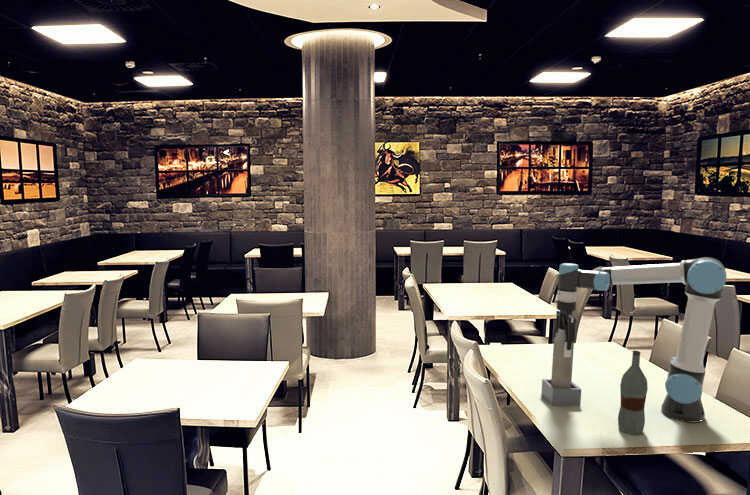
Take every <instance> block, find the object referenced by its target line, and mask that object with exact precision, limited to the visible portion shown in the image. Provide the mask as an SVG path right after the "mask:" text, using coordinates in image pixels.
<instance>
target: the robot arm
mask: <svg viewBox="0 0 750 495" xmlns="http://www.w3.org/2000/svg"><path fill="white" fill-rule="evenodd" d="M557 274H558V279H557V280H558V282H557V284H558V285H557V293H556V295H557V298H556V299H557V300H556V310H557V311H556V312H555V313H556V316H555V317H556V318H555V324H554V331H553V332H554V333H555V334H556V333H558V330H559V326H562V325H563V326H565V336H566V340H565V341H564V342H565V346H564V357H571V349H572V342H574V343H575V341H576V339H575V338H576V331H575V330H576V328H575V327H576V325H575V324H576V317H573V313H572V312H575V311H576V308H577V302H576V301H577V298H578V289H587V290H594V291H608V290H609V288H610V286H613V285H616V286H617V285H642V284H665V283H666V284H667V283H669V284H670V283H683V285H685V290H684V293H685V295H686V296H687V303H686V306H685V313H684V317H683V323H682V327H681V333H680V338H679V343H678V346H677V352H676V356H672V357H671V358H670V362H669V366H668V367H669V368H668V373H667V378H666V380H665V383H664V386H665V390H666V393H667V394H666V396H665V398H664V400H663V402H662V404H661V408H660V409H661V410H660V411H661V413H662V414H663V415H664V416H665V417H668V418H670V417H671V419H673V418H674V419H673V420H676V419H678V420H677V421H680V420H684V421H683V422H685V421H700V420H703V419H704V420H705V416H706V414H705V409H704V406H703V401H702V395H703V385H704V382H705V376H706V371H707V370H706V368H705V365H704V358H705V353H706V352H705V351H706V347H707V343H708V338H709V332H710V329H711V324H712V320H713V314H714V310H715V305H716V303H717V302H719V301H721V299H722V297H723V291H724V287H725V285H726V281H727V277H728V276H727V272H726V268H725V266H724V264H723V262H721V261H720V260H719V259H717V258H715V257H712V256H711V257H709V256H708V257H707V256H704V257H698V258H693V259H686V260H685V259H683V260H681V261H680V262H672V263H658V264H657V263H655V264H641V265H640V264H639V265H624V266H607V267H606V266H605V267H604V266H597V267H594V268H593V269H592V270H587V269H585V270H584V269H580V268H579V264H576V263H572V262H571V263H567V262H564V263H561V264H559V269H558V273H557Z"/></svg>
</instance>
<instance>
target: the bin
mask: <svg viewBox="0 0 750 495" xmlns="http://www.w3.org/2000/svg"><path fill="white" fill-rule="evenodd" d="M551 379H552V378H551ZM551 379H548V378H543V379H541V380H542V381H541V382H542V383H541V396H542V397H543V398H544V399H545V401H547V402H548V404H549V405H551V406H552V407H553V406H555V407H557V406H558V407H566V406H567V407H581V400H582V399H581V398H582V388H580V386H578V385H577V384H576V383H575V382H574V381H572V380H571V388H554V387H553V386H552V385H551Z"/></svg>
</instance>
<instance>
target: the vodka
mask: <svg viewBox="0 0 750 495" xmlns="http://www.w3.org/2000/svg"><path fill="white" fill-rule="evenodd" d="M640 360H641V351H639V350H632V358H631V365H630V366H629V367H628V369H626V371H624V373H623V374H622V377H621V381H620V406H619V411H618V415H617V425H618V429H619V430H620V432H623V433H625V434H627V433H628V434H627V435H632V434H633V436H637V435H639V436H640V435H642V434H643V432H644V428H645V424H646V418H645V416H646V415H645V407H646V406H645V405H646V399H647V394H648V388H649V386H648V379H647V377H646V375H645V373H644V372H643V370H642V369H641V367H640Z"/></svg>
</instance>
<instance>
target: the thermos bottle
mask: <svg viewBox="0 0 750 495" xmlns="http://www.w3.org/2000/svg"><path fill="white" fill-rule="evenodd" d="M565 340H566V336H565V326H563V325H562V326H559V330H558V333H555V337H554V338H553V350H552V364H551V385H552V386H553V387H554V388H571V381H572V380H573V379H572V377H573V363H574V362H573V361H574V348H575V342H572V349H571V357H564V346H565V342H564V341H565Z"/></svg>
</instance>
